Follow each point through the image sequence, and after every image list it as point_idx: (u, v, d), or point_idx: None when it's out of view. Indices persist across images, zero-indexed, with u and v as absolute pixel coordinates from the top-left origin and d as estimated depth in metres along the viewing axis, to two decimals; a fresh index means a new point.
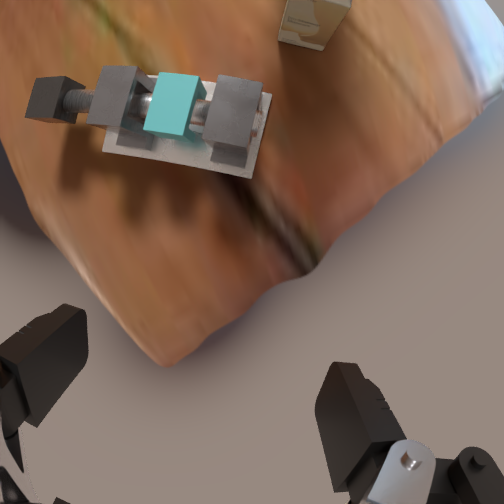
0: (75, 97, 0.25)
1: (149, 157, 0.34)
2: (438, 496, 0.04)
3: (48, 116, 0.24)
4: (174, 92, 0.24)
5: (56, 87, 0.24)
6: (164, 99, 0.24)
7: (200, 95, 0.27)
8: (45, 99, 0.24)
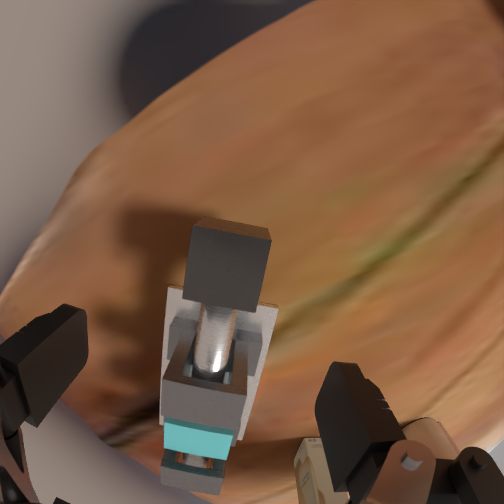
0: (218, 322, 0.21)
1: (164, 347, 0.30)
2: (438, 496, 0.04)
3: (185, 288, 0.19)
4: (207, 445, 0.22)
5: (237, 298, 0.19)
6: (199, 439, 0.22)
7: None
8: (218, 276, 0.19)
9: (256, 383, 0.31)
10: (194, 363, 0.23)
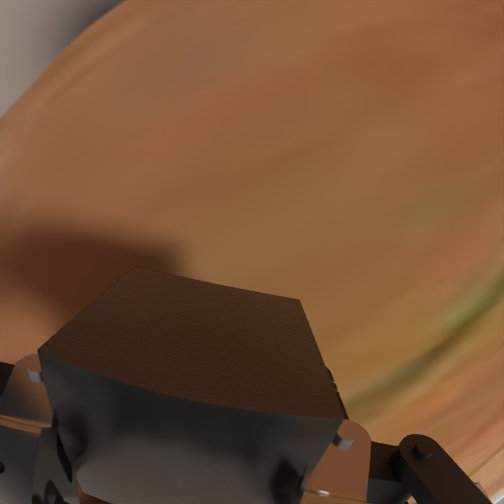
0: None
1: None
2: (376, 482, 0.04)
3: (82, 481, 0.05)
4: None
5: None
6: None
7: None
8: (157, 485, 0.04)
9: None
10: None
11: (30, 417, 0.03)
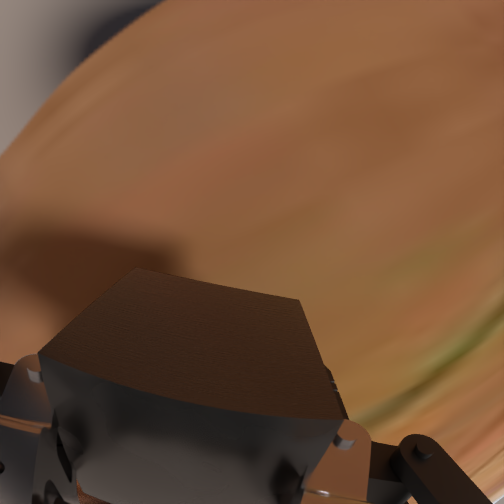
0: None
1: None
2: (376, 482, 0.04)
3: (82, 482, 0.05)
4: None
5: None
6: None
7: None
8: (158, 486, 0.04)
9: None
10: None
11: (30, 417, 0.03)
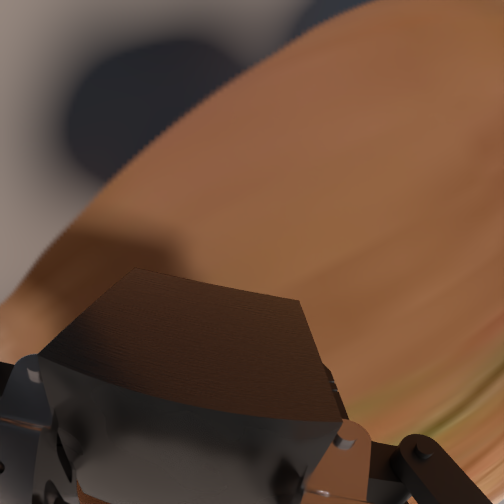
0: None
1: None
2: (376, 482, 0.04)
3: (82, 482, 0.05)
4: None
5: None
6: None
7: None
8: (157, 487, 0.04)
9: None
10: None
11: (30, 417, 0.03)
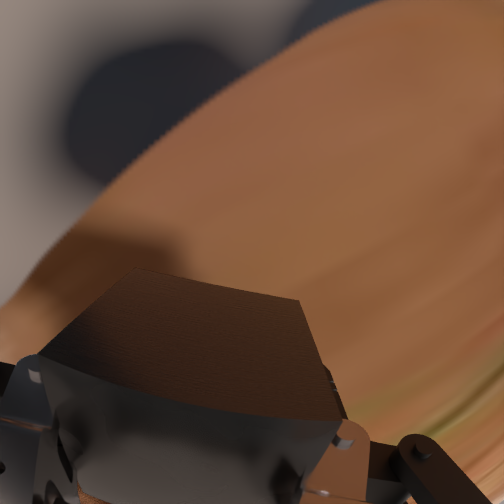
0: None
1: None
2: (375, 482, 0.04)
3: (82, 482, 0.05)
4: None
5: None
6: None
7: None
8: (156, 486, 0.04)
9: None
10: None
11: (31, 417, 0.03)
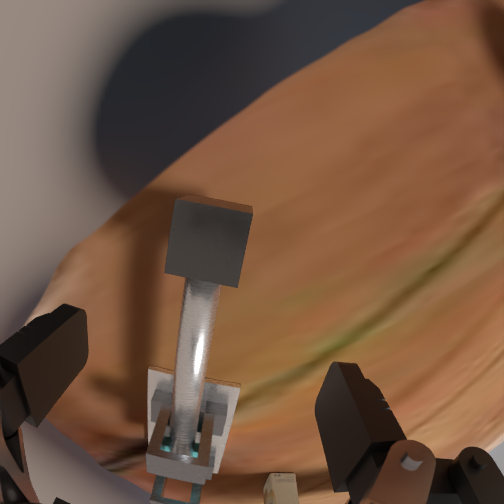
0: (201, 297, 0.21)
1: (148, 408, 0.33)
2: (438, 496, 0.04)
3: (167, 262, 0.19)
4: None
5: (218, 272, 0.20)
6: None
7: None
8: (200, 249, 0.19)
9: (225, 436, 0.34)
10: (178, 341, 0.23)
11: None
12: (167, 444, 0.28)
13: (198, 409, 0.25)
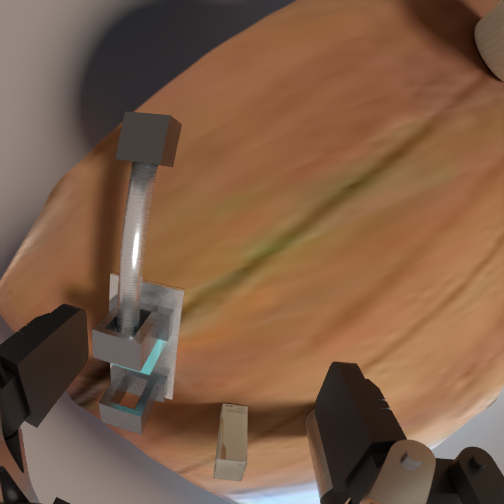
0: (139, 179, 0.28)
1: None
2: (438, 496, 0.04)
3: (117, 151, 0.27)
4: None
5: (148, 155, 0.27)
6: None
7: None
8: (137, 141, 0.26)
9: (175, 349, 0.41)
10: None
11: None
12: None
13: (138, 288, 0.32)
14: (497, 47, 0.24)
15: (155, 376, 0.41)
